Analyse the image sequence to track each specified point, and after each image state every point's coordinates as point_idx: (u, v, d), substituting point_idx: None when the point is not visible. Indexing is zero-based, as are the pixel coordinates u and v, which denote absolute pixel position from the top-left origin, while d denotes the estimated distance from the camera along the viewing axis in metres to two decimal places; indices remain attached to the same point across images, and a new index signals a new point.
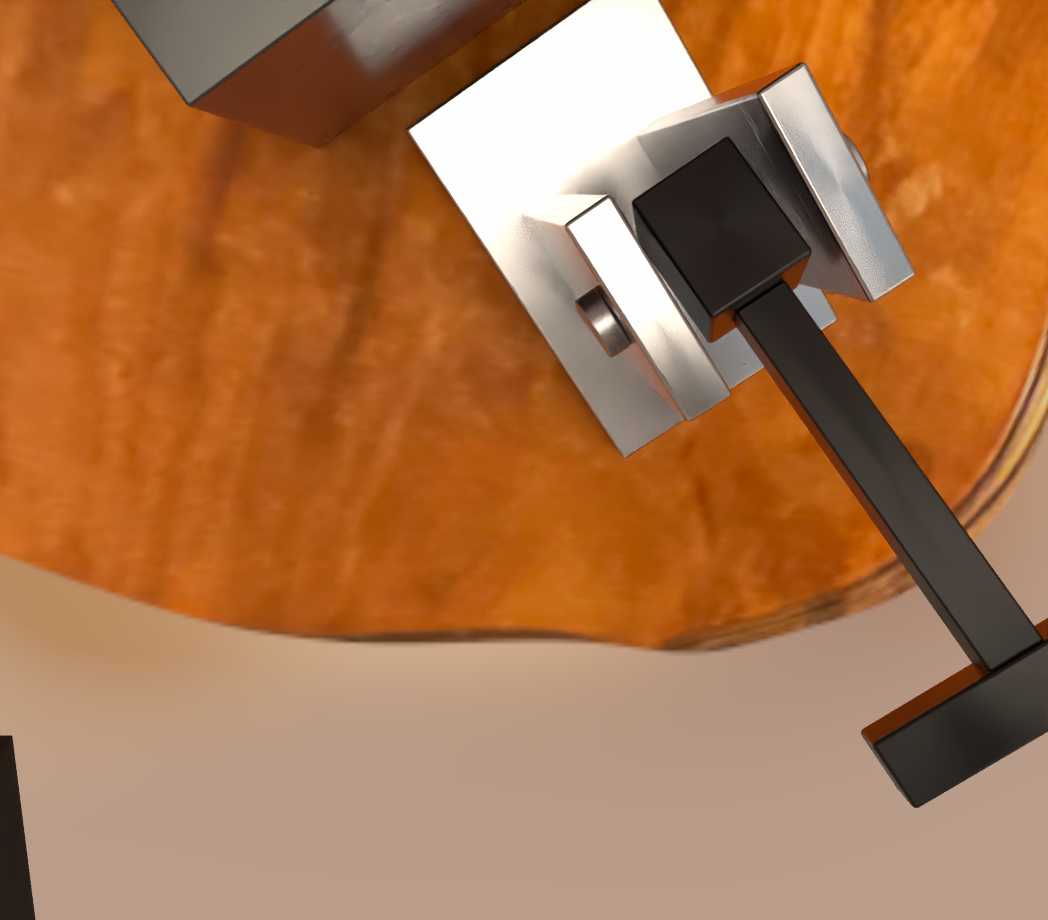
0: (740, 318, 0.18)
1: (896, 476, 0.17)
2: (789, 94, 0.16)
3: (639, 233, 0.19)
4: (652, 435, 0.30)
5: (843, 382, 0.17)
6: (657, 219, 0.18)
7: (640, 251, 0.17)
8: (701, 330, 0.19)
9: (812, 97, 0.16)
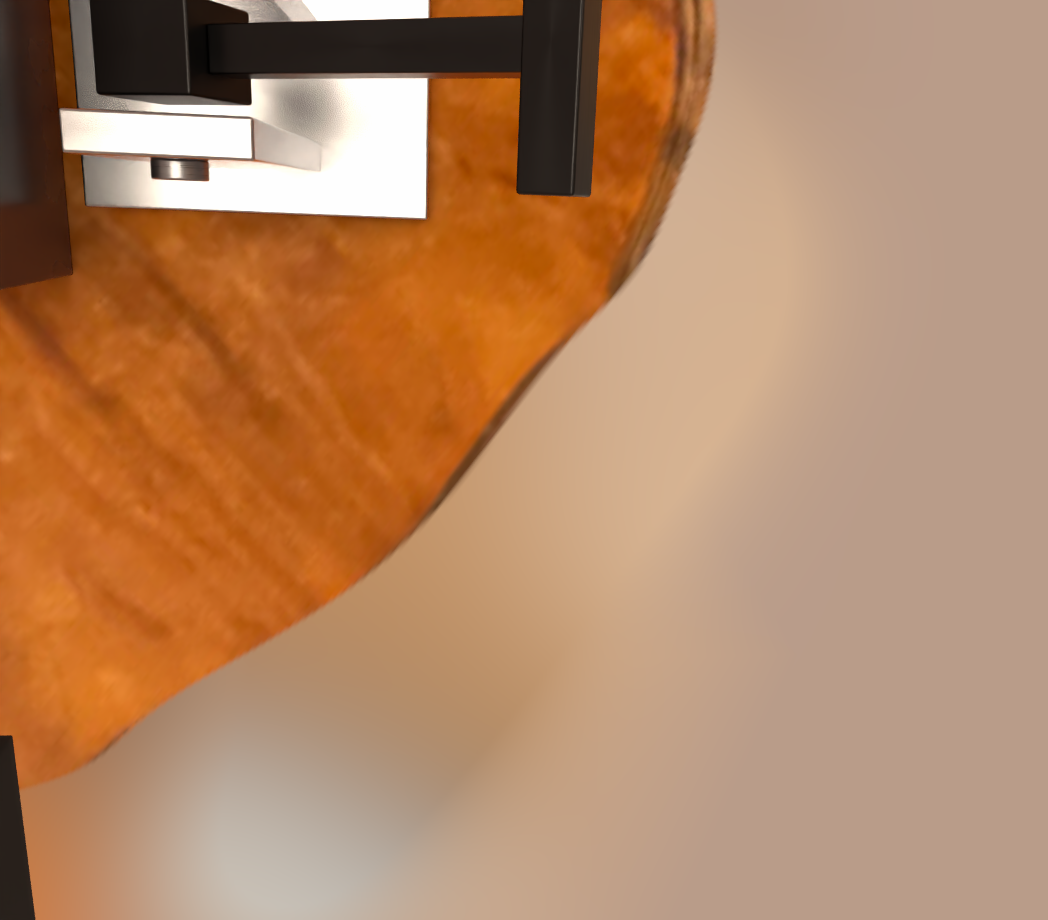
0: (215, 73, 0.22)
1: (365, 41, 0.21)
2: None
3: (145, 101, 0.24)
4: (423, 186, 0.34)
5: (288, 32, 0.21)
6: (114, 85, 0.22)
7: (108, 113, 0.22)
8: (234, 104, 0.24)
9: None
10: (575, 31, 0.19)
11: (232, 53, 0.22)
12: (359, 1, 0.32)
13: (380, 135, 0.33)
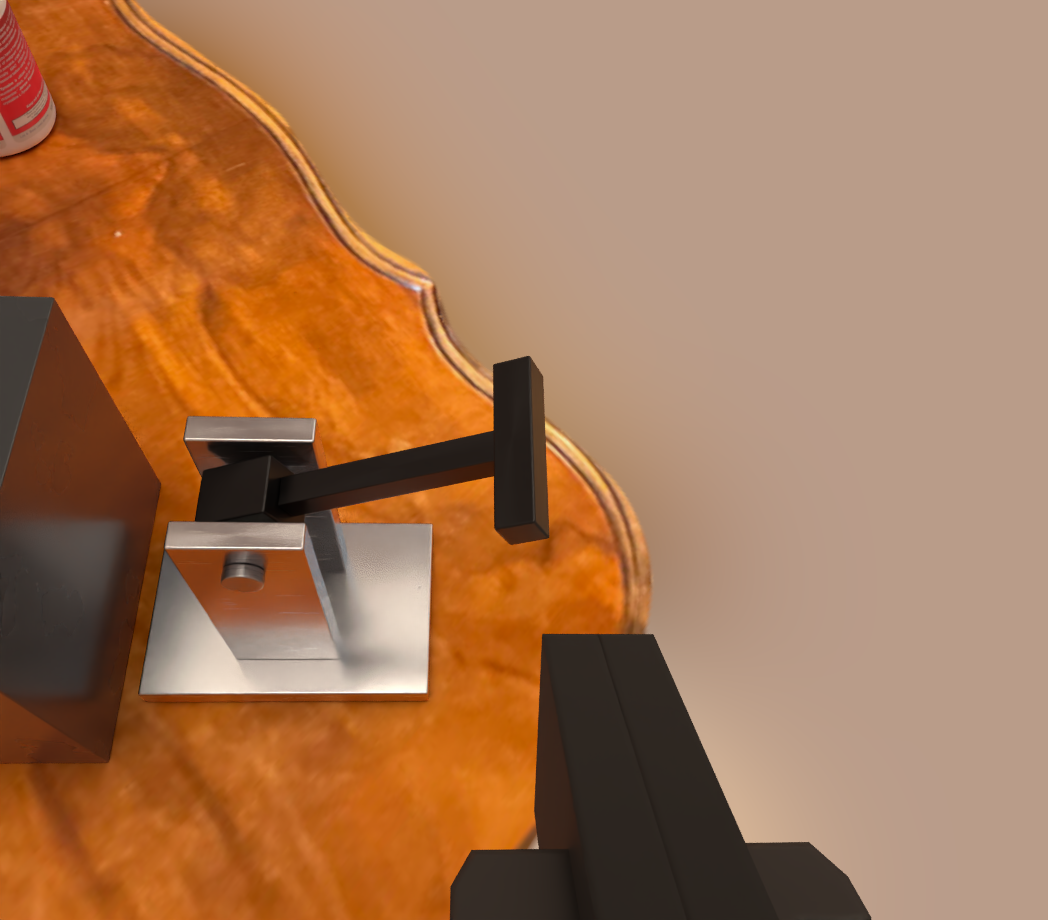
0: (282, 505, 0.32)
1: (389, 465, 0.31)
2: (194, 428, 0.32)
3: None
4: (424, 666, 0.40)
5: (337, 470, 0.31)
6: (209, 517, 0.32)
7: (203, 523, 0.30)
8: None
9: (203, 420, 0.32)
10: (528, 429, 0.29)
11: (296, 490, 0.32)
12: (380, 540, 0.43)
13: (390, 629, 0.41)
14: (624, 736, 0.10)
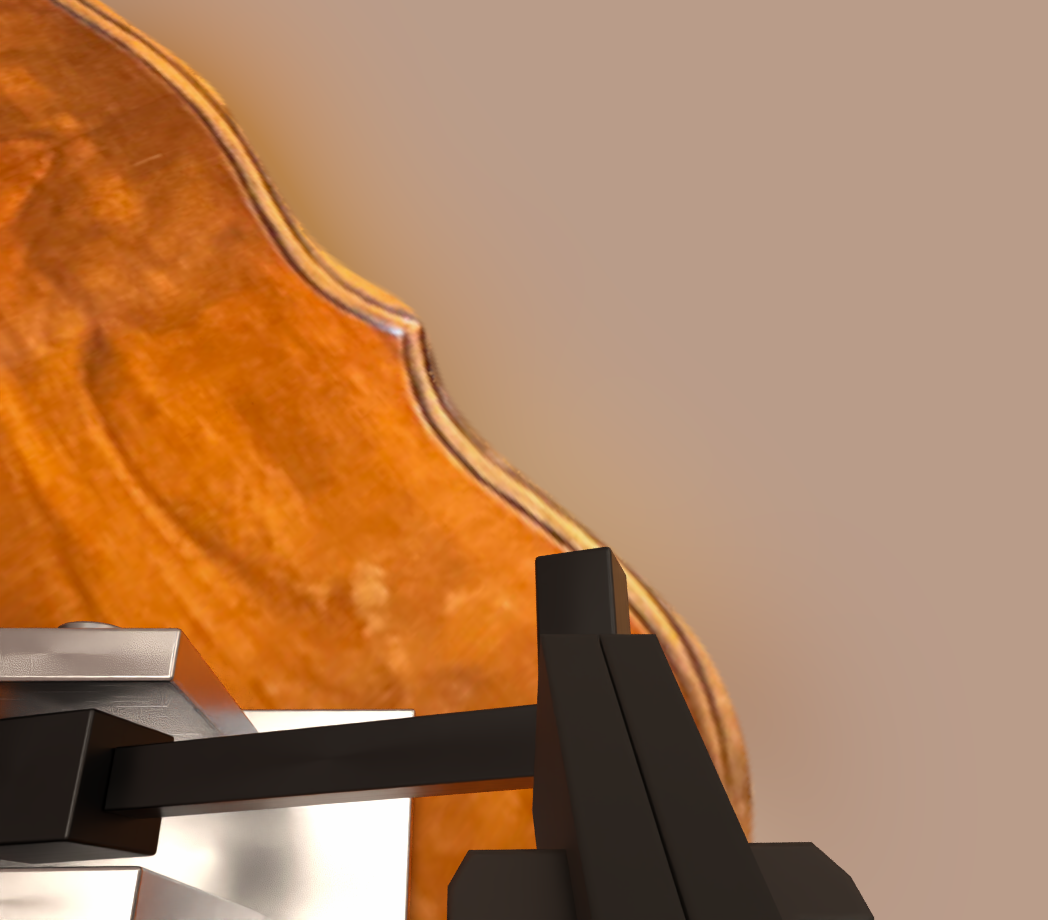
0: (112, 811, 0.16)
1: (324, 753, 0.15)
2: None
3: (4, 858, 0.17)
4: None
5: (222, 749, 0.16)
6: None
7: None
8: (131, 855, 0.17)
9: None
10: None
11: (140, 782, 0.16)
12: None
13: (345, 898, 0.25)
14: (622, 736, 0.10)
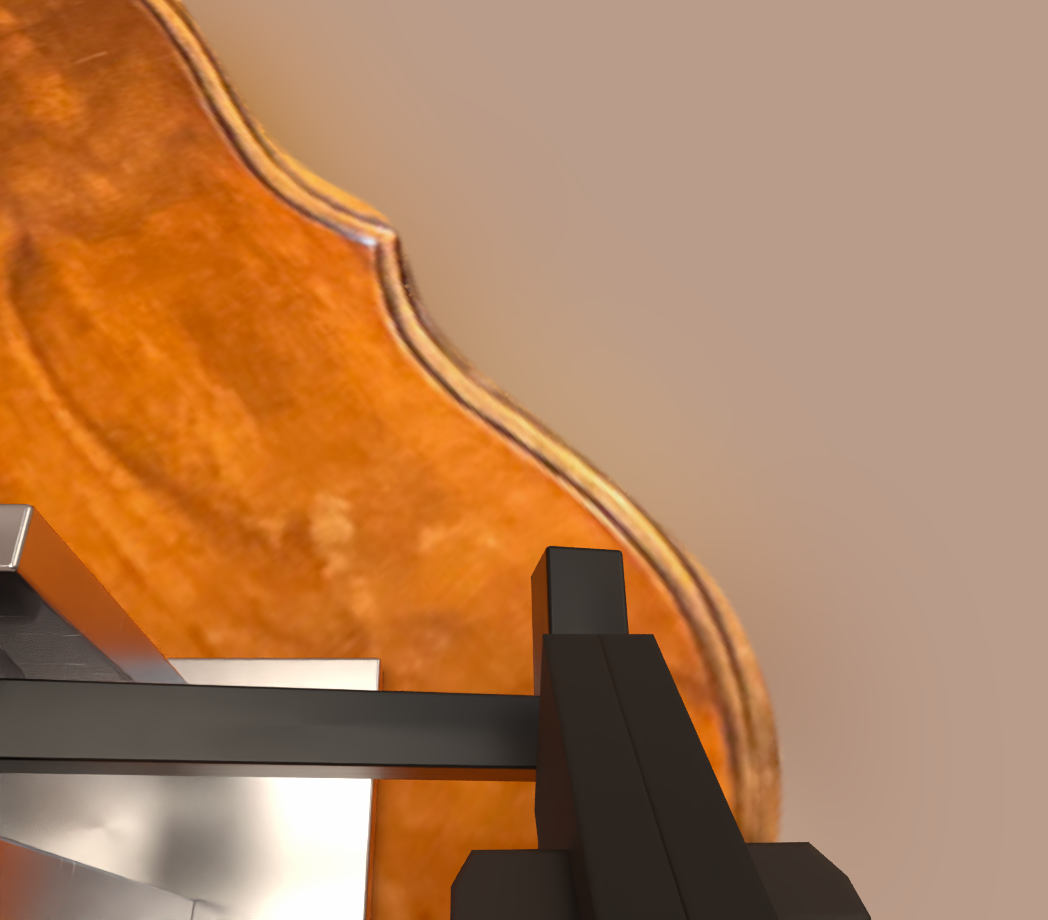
0: None
1: (296, 718, 0.13)
2: None
3: None
4: None
5: (155, 698, 0.13)
6: None
7: None
8: None
9: None
10: None
11: (29, 726, 0.13)
12: None
13: (291, 881, 0.21)
14: (624, 736, 0.10)
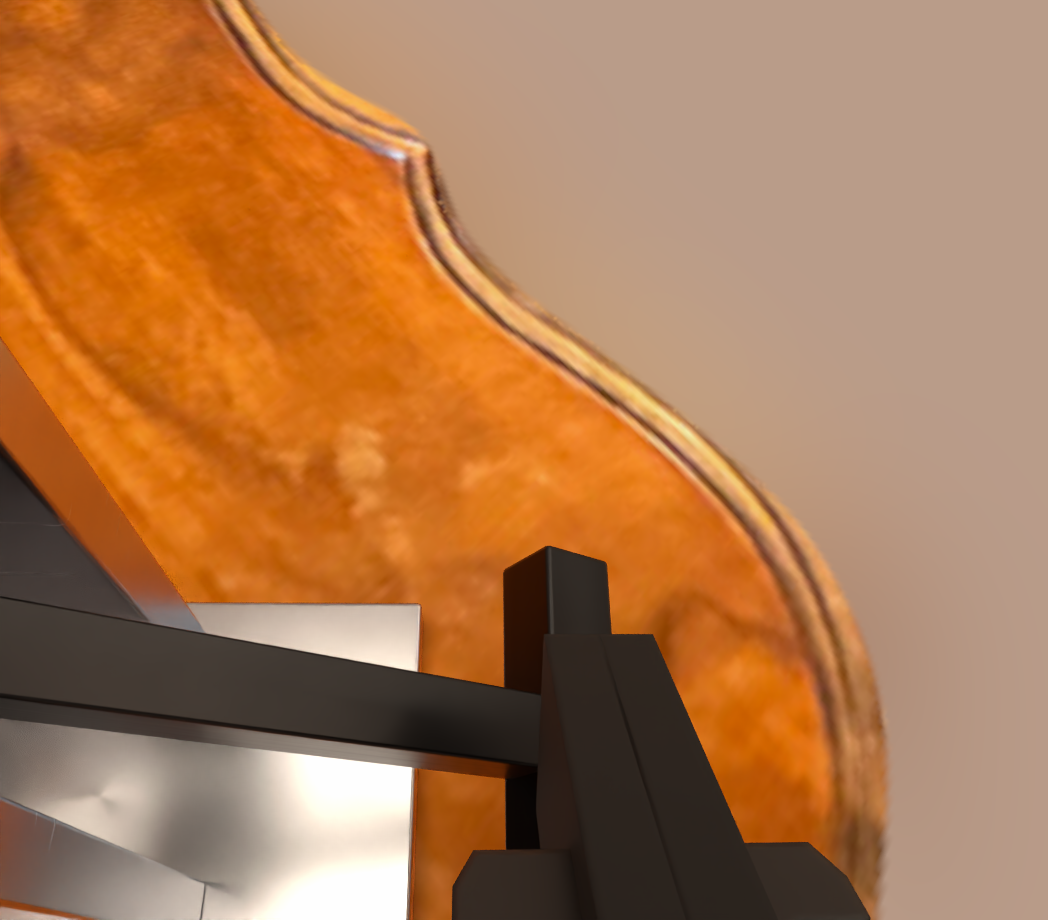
0: None
1: (317, 687, 0.12)
2: None
3: None
4: None
5: (167, 644, 0.11)
6: None
7: None
8: None
9: None
10: None
11: (17, 657, 0.10)
12: (306, 641, 0.20)
13: (321, 860, 0.18)
14: (626, 736, 0.10)
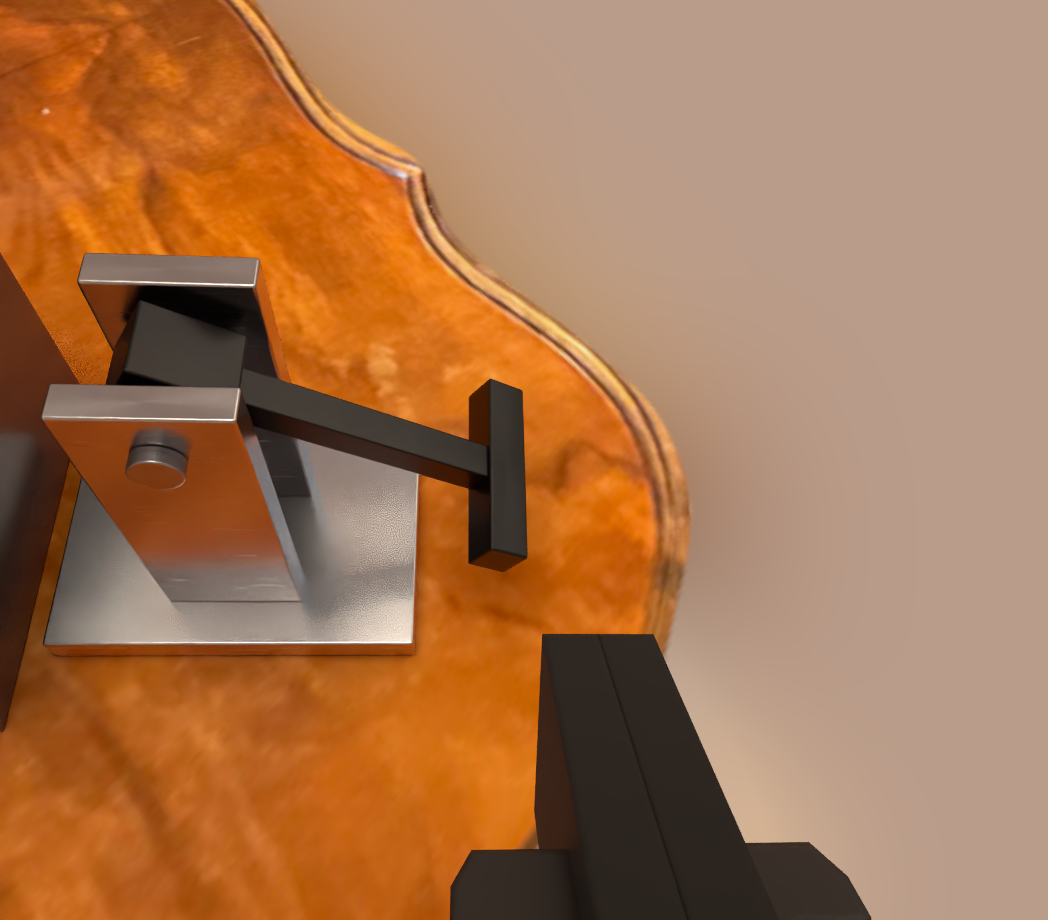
0: None
1: (378, 424, 0.27)
2: (93, 267, 0.24)
3: None
4: (409, 611, 0.32)
5: (315, 397, 0.26)
6: (152, 371, 0.23)
7: (98, 386, 0.22)
8: None
9: (106, 258, 0.24)
10: (522, 463, 0.29)
11: (259, 393, 0.25)
12: (354, 458, 0.35)
13: (366, 565, 0.33)
14: (624, 736, 0.10)
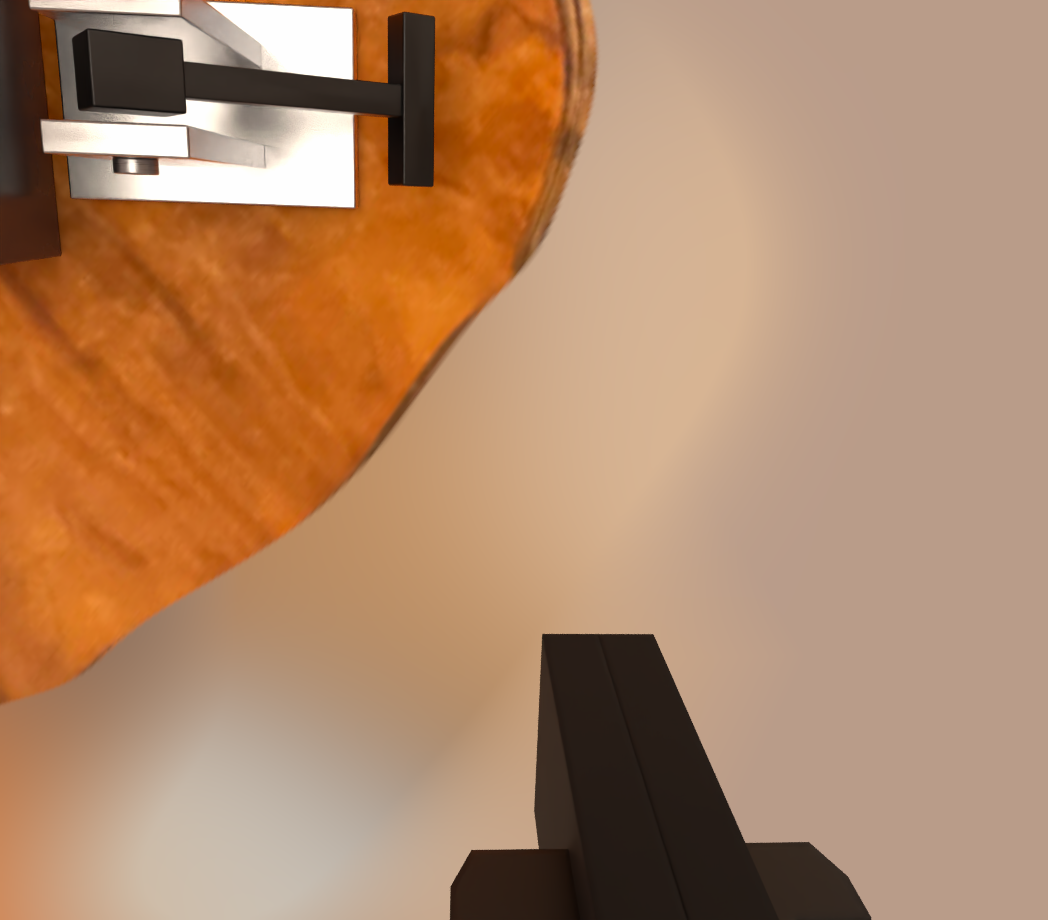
0: None
1: (304, 88, 0.32)
2: None
3: (90, 109, 0.29)
4: (351, 180, 0.40)
5: (248, 75, 0.31)
6: (114, 101, 0.29)
7: (77, 123, 0.28)
8: (161, 116, 0.31)
9: None
10: (431, 97, 0.35)
11: (201, 84, 0.30)
12: (294, 27, 0.39)
13: (314, 138, 0.40)
14: (624, 736, 0.10)
